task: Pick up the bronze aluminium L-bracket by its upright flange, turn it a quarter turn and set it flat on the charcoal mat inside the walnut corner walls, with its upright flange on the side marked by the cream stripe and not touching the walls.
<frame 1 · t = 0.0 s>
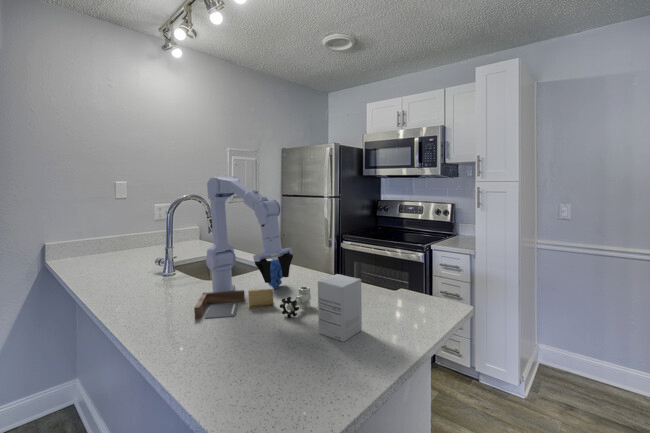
hand: (277, 279, 105), 11 cm above the counter, tool pointing down, fingers open, 7 cm apart
supplement box: (340, 332, 91), on the counter
corner walls: (221, 308, 109), on the counter
grapes: (277, 289, 129), on the counter
bronze bracket: (261, 304, 112), on the counter
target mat: (222, 310, 107), on the counter
valve: (298, 311, 106), on the counter
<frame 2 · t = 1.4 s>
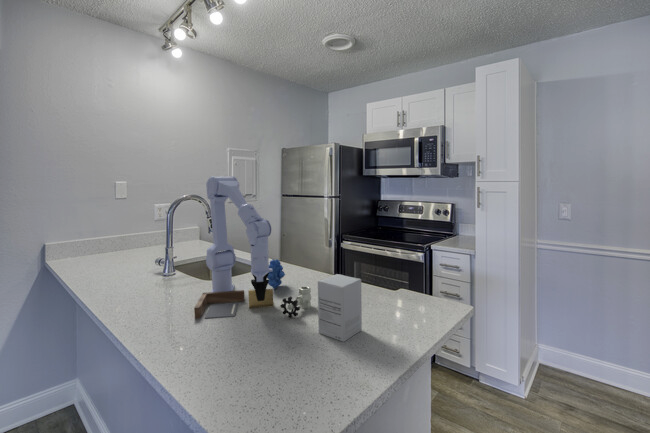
hand: (261, 296, 110), 4 cm above the counter, tool pointing down, fingers open, 7 cm apart
nothing on the counter moved.
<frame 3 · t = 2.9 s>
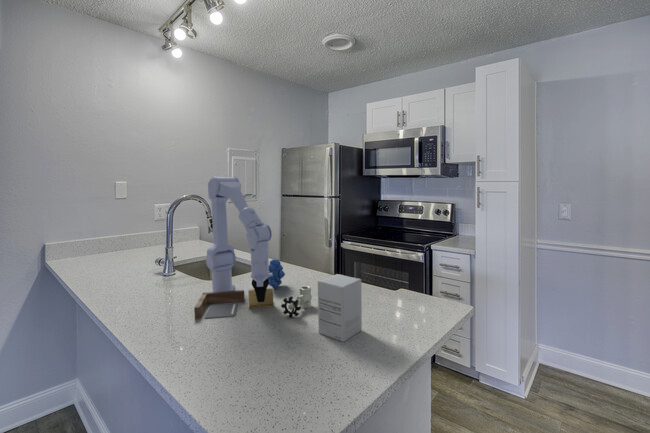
hand: (261, 300, 110), 2 cm above the counter, tool pointing down, fingers closed on bronze bracket
bronze bracket: (261, 304, 112), on the counter, touching gripper
everything else where it was.
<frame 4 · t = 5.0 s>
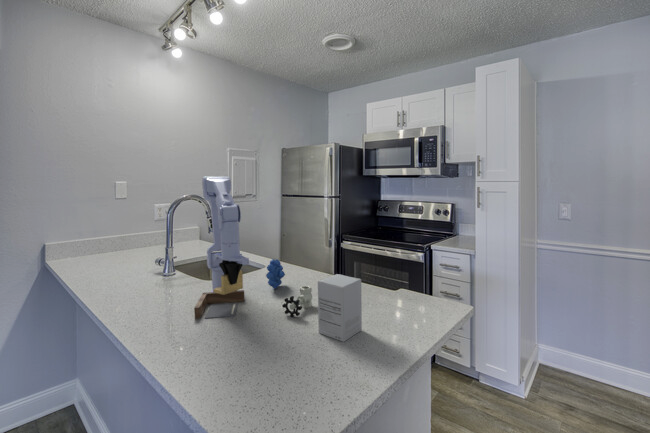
hand: (231, 283, 107), 9 cm above the counter, tool pointing down, fingers closed on bronze bracket
bronze bracket: (228, 290, 108), point 6 cm above the counter, touching gripper
everything else where it was.
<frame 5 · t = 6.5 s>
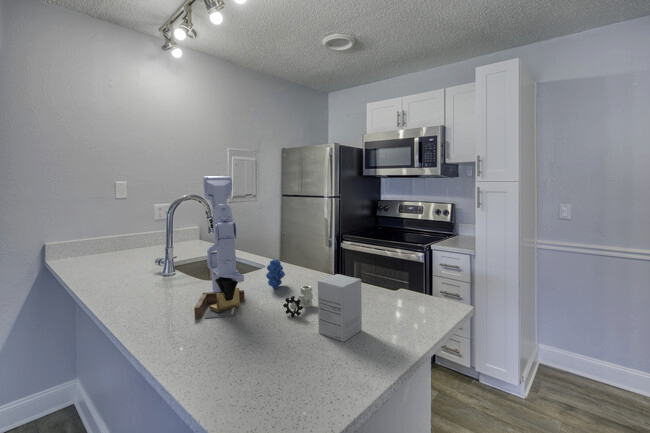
hand: (228, 299, 107), 4 cm above the counter, tool pointing down, fingers closed on bronze bracket
bronze bracket: (224, 307, 109), point 1 cm above the counter, touching gripper
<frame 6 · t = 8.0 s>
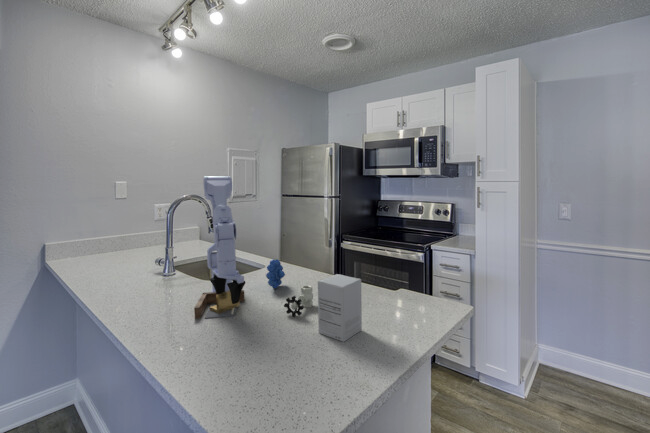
hand: (228, 300, 107), 3 cm above the counter, tool pointing down, fingers open, 7 cm apart
bronze bracket: (224, 307, 109), resting on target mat
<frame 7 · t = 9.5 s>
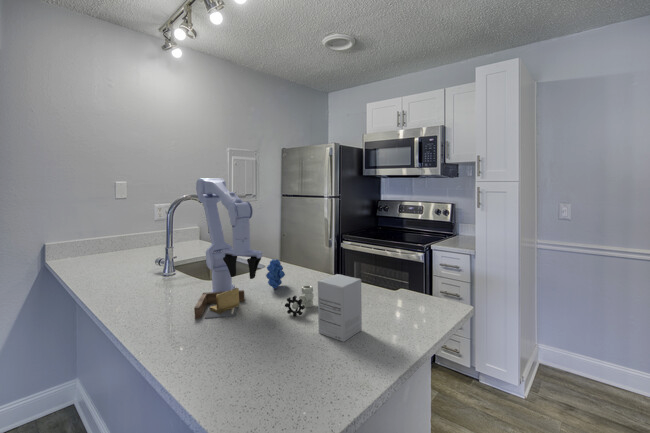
hand: (242, 277, 112), 9 cm above the counter, tool pointing down, fingers open, 7 cm apart
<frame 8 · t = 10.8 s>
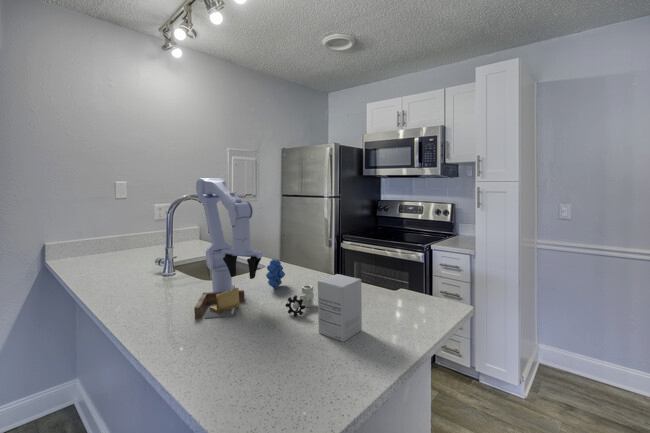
hand: (242, 277, 112), 9 cm above the counter, tool pointing down, fingers open, 7 cm apart
at the end: bronze bracket 1.7 cm off-centre on the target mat, point 0.4 cm above the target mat's base; bronze bracket tilted 1°; bronze bracket touching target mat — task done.
